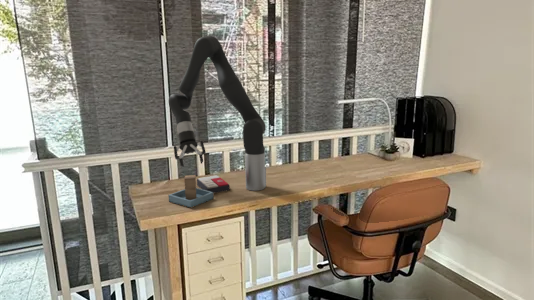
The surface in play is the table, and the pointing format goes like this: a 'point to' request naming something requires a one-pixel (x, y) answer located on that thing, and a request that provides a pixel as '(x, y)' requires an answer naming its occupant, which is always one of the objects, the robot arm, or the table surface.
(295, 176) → the table surface
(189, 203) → the tray
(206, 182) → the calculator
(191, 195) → the walnut block
